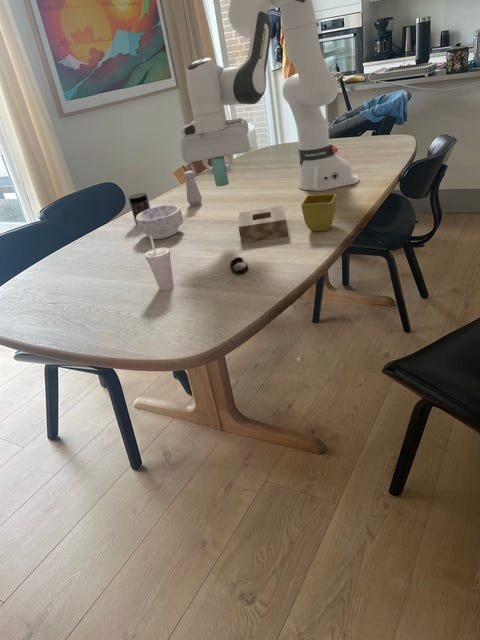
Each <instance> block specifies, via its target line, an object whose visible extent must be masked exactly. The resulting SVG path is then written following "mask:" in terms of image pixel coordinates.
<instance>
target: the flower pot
mask: <svg viewBox="0 0 480 640" xmlns="http://www.w3.org/2000/svg"><path fill="white" fill-rule="evenodd" d="M300 205H301V210H302V215H303V219H304V222H305V225H306V227H307V229H309V231H310V232H328V231H329V230H330V228H331V226H332V224H333V221H334V218H335V215H336V207H337V193H326V194H325V193H324V194H323V193H322V194H311V195H310V194H309V195H306V196H305V198H304V199H303V201H302V202H301V204H300Z"/></svg>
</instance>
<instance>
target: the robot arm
mask: <svg viewBox="0 0 480 640" xmlns="http://www.w3.org/2000/svg"><path fill="white" fill-rule="evenodd" d="M228 5H229V6H228V13H227V15H228V21H229V23H230V25H231V27H232V29H233V30H234V31H235V32H236V33H237V34H239V35H240V36H242V37H243V38H245V39H249V46H248V53H247V58H246V60H245V61H244V62H243V63H241V64H240V65H237V66H231V67H223V66H220V65H218V64H217V63H215V62H214V60H213V58H211V57H203V58H200V59H198V60H194V61H192V62H191V63H190V64H188V66H187V67H186V85H187V90H188V96H189V100H190V102H191V103H192V108H193V112H192V116H193V119H194V120H193V121H189V122H188V123H186V124H185V125H184V126H182V127H181V129H180V134H181V136H182V138H181V140H180V151H181V152H180V153H181V159H182V161H184V163H187V164H189V163H192V162H198V161H201V162H202V165H203V166H204V167H205V168H206V169H207V173H208V175H214V173H213V168H212V166H210V164H208V160H209V159H210V160H211V158H216V157H222V156H224V157H227V159H228V160H229V161H228V163H227V164H226V163H225V165H226V171H227V172H231V171H232V162H233V157H234V156H233V155H237V154H239V155H240V154H244V153H249V151H250V150H251V144H250V139H249V136H248V133H249V130H250V129H249V123H248V122H247V120H246V119H242V118H241V117H239V118H237V119H236V118H235V119H229V120H227V117H226V115H225V113H226V112H225V108H224V106H236V105H256V104H257V103H259V102H260V100H261V99H262V98H263V96H264V94H265V92H266V87H267V76H266V75H267V74H266V73H267V65H268V58H269V53H270V46H271V37H272V22H271V20H270V19H271V18H270V17H269V16H268V11H269V10H274V9H279V10H280V19H281V20H280V21H281V26H282V33H283V34H282V35H283V39H284V45H285V50H286V51H285V52H286V56H287V59H288V60H289V61H290V62H291V63H292V65H293V66H294V69H295V70H296V73H295V74H293V75H292V76H289V77H288V78H287V79H286V80H285V81H284V83H283V86H282V96H283V99H284V100H285V101H286V103H287V104H288V106H289V108H290V112H291V113H292V115H293V118H294V122H295V126H296V130H297V141H298V152H297V153H298V163H299V166H300V176H299V184H298V188H299V189H301V190H305V191H315V192H316V191H317V192H321V191H322V192H323V191H326V190H327V191H328V190H331V189H335V188H340V187H341V188H342V187H345V186H349V185H354V184H358V183H359V182H360V181H359V180H360V178H359V175H357V174H356V173H353V170H352V166H351V165H350V164H351V163H349V162H348V161H347V160H346V159H344V158H343V157H341V156H339V155H337V154H336V153H338V151H339V148H338V147H337V146H335V145H333V144H331V143H330V137H329V136H330V135H329V134H330V133H329V123H328V121H327V119H326V117H324V115H323V112H322V110H321V108H320V107H324V106H327V105H329V104H331V103H332V102H334V101H335V99H336V98H337V96H338V93H339V85H340V84H339V82H338V81H339V80H338V78H337V77H336V76H335V75H334V73H332V72H331V70H330V69H329V67H328V65H327V62H326V60H325V57H324V55H323V52H322V49H321V45H320V39H319V32H318V26H317V18H316V13H315V10H314V5H313V1H312V0H230V1H229V4H228Z"/></svg>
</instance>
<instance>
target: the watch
mask: <svg viewBox="0 0 480 640" xmlns="http://www.w3.org/2000/svg"><path fill="white" fill-rule="evenodd" d="M240 263H242V264H243V265H244V267H242V268H240V269H235V268H234V267H235V266H236V265H237V264H240ZM229 267H230V270H231V272H232V273H234V275H237V276H242V275H245V274H246V273H248V272H249V269H250V265H249V263H248V261H247V260H246V258H245V257H244V256H241V257H239V256H238V257H235V258H233V259H232V260H231V261H230V263H229Z"/></svg>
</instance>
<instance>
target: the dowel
mask: <svg viewBox="0 0 480 640" xmlns="http://www.w3.org/2000/svg"><path fill="white" fill-rule="evenodd" d="M210 163H211V167H212V168H213V173H214V174H213V178H214V183H215V186H216V187H225V186H228V185H229V183H230V182H229V177H228V171H226V160H225V156H222V157H216V158H211V159H210Z"/></svg>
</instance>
